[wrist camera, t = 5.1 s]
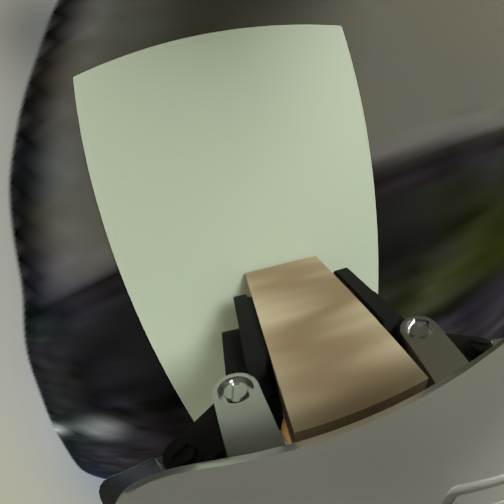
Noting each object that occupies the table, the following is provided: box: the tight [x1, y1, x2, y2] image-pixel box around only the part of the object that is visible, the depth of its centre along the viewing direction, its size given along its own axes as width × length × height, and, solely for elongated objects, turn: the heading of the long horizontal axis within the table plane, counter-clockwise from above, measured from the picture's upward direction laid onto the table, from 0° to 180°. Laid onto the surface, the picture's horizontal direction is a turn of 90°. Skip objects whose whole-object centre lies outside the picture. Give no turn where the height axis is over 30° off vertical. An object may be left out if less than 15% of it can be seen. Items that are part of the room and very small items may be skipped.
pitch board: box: [73, 25, 378, 422], centre depth 13 cm, size 12×20×1 cm, turn 11°
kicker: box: [245, 256, 428, 443], centre depth 9 cm, size 5×4×8 cm
